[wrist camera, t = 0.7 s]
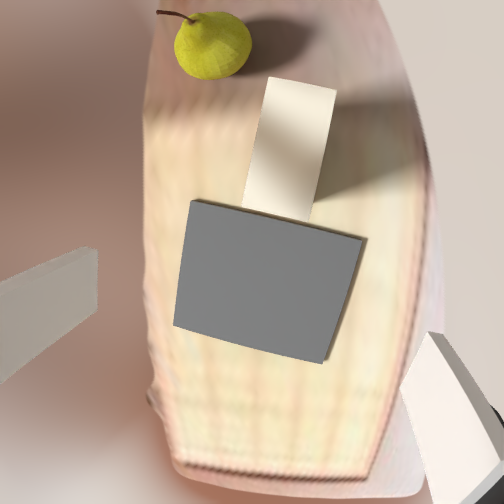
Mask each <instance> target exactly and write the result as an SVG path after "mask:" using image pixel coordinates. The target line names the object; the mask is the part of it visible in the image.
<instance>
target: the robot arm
mask: <svg viewBox="0 0 504 504" xmlns="http://www.w3.org/2000/svg"><path fill="white" fill-rule="evenodd" d="M97 277H98V250H96V249H93V248H89V247H86V246H83V247H81V248H78V249H76V250H73V251H71V252H68V253H66V254H63V255H61V256H59V257H56V258H54V259H52V260H49V261H47V262H44V263H42V264H40V265H37V266H35V267H33V268H30V269H28V270H26V271H24V272H21V273H19V274H17V275H15V276H13V277H10V278H8V279H6V280H4V281H2V282H0V384H1V383H3V382H4V381H5V380H6V379H8V378H9V377H10V376H11V375H13V374H14V373H15V372H17V371H18V370H19V369H20V368H21V367H23V366H24V365H25V364H27V363H28V362H29V361H31V360H32V359H33V358H34V357H36V356H37V355H38V354H40V353H41V352H42V351H44V350H45V349H46V348H48V347H49V346H50V345H52V344H53V343H54V342H55V341H57V340H58V339H59V338H61V337H62V336H63V335H65V334H66V333H67V332H69V331H70V330H71V329H73V328H74V327H76V326H77V325H78V324H80V322H82V321H84V320H85V319H86V318H88V317H89V316H91V315H92V314H93V313H95V312H96V311H97V310H98V307H97V305H98V304H97V282H98V281H97V279H98V278H97ZM400 391H401V394H402V397H403V400H404V403H405V406H406V409H407V412H408V415H409V418H410V422H411V425H412V428H413V431H414V434H415V438H416V441H417V444H418V448H419V451H420V455H421V458H422V462H423V465H424V469H425V473H426V476H427V480H428V484H429V488H430V492H431V496H432V500H433V504H504V422H503V420H502V418H501V416H500V415H499V413H498V412H497V411H496V410H495V409H494V408H493V407H492V406H491V405H490V404H489V403H488V401H487V399H486V398H485V396H484V394H483V393H482V391H481V390H480V388H479V387H478V385H477V384H476V382H475V381H474V379H473V377H472V376H471V374H470V373H469V371H468V370H467V368H466V367H465V366H464V364H463V362H462V361H461V359H460V358H459V357H458V355H457V354H456V352H455V351H454V349H453V348H452V346H451V345H450V344H449V342H448V341H447V339H446V338H445V337H444V335H443V334H440V333H434V332H429V331H427V332H426V335H425V337H424V339H423V341H422V344H421V346H420V348H419V350H418V352H417V354H416V356H415V358H414V361H413V363H412V365H411V367H410V369H409V371H408V373H407V375H406V376H405V378H404V380H403V382H402V384H401V386H400Z"/></svg>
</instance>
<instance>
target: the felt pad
mask: <svg viewBox="0 0 504 504" xmlns="http://www.w3.org/2000/svg"><path fill="white" fill-rule="evenodd" d="M361 245H362V240H360V239H356V238H352V237H348V236H344V235H340V234H336V233H332V232H328V231H324V230H320V229H316V228H312V227H308V226H304V225H300V224H296V223H292V222H287V221H283V220H279V219H275V218H270V217H266V216H262V215H257V214H253V213H249V212H244V211H240V210H235V209H231V208H226V207H222V206H217V205H212V204H208V203H203V202H198V201H193V200H192V201H191V202H190V208H189V214H188V220H187V226H186V232H185V239H184V245H183V252H182V259H181V266H180V273H179V281H178V288H177V296H176V305H175V313H174V322H173V326H177V327H180V328H183V329H186V330H189V331H193V332H196V333H199V334H203V335H206V336H210V337H213V338H217V339H220V340H224V341H227V342H231V343H235V344H238V345H242V346H246V347H250V348H254V349H258V350H262V351H266V352H270V353H274V354H278V355H282V356H287V357H291V358H295V359H300V360H304V361H309V362H314V363H318V364H322V363H323V361H324V358H325V355H326V353H327V350H328V347H329V344H330V342H331V339H332V336H333V333H334V330H335V328H336V325H337V322H338V319H339V316H340V313H341V310H342V307H343V304H344V301H345V298H346V295H347V292H348V288H349V285H350V282H351V279H352V275H353V272H354V269H355V265H356V262H357V259H358V255H359V252H360V248H361Z"/></svg>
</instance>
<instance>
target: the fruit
mask: <svg viewBox="0 0 504 504" xmlns="http://www.w3.org/2000/svg"><path fill="white" fill-rule="evenodd" d="M156 13H157V14H167V15H175V16H180V17H183V18H185V20H184V21H183V23H182V27H181V28H180V30H179V32H178V34H177V36H176V38H175V43H174V48H175V54H176V58H177V60H178V62H179V64H180V66H181V67H182V68H183V69H184V71H185V72H187V73H188V74H189V75H191V76H194V77H196V78H199V79H203V80H215V79H221V78H225V77H228V76H231V75H232V74H234V73H235V72H237V71H238V70H239V69H240V68H241V67H242V66H243V65H244V63H245V62H246V60H247V59H248V56H249V54H250V51H251V49H252V39H251V36H250V33H249V30H248V29H247V27H246V26H245V25H244V24H243V22H242V21H241V20H240V19H238V18H237V17H235V16H233V15H231V14H228V13H225V12H206V13H195V14H192V15H190V16H188V17H186V16H184V15H182V14H180V13H177V12H172V11H162V10H157V11H156Z"/></svg>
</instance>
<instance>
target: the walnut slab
mask: <svg viewBox="0 0 504 504" xmlns="http://www.w3.org/2000/svg"><path fill="white" fill-rule="evenodd" d="M336 91H337V90H333V89H329V88H325V87H320V86H316V85H311V84H306V83H301V82H296V81H291V80H286V79H280V78H274V77H269V78H268V82H267V87H266V92H265V96H264V101H263V105H262V110H261V114H260V119H259V124H258V128H257V133H256V138H255V142H254V147H253V152H252V157H251V161H250V166H249V171H248V176H247V181H246V185H245V190H244V195H243V200H242V205H241V207H244V208H248V209H253V210H257V211H262V212H266V213H270V214H275V215H279V216H283V217H287V218H292V219H296V220H300V221H304V222H309V218H310V214H311V209H312V205H313V201H314V196H315V192H316V188H317V183H318V179H319V174H320V170H321V165H322V161H323V156H324V151H325V147H326V142H327V137H328V132H329V127H330V122H331V117H332V112H333V107H334V102H335V97H336Z"/></svg>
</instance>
